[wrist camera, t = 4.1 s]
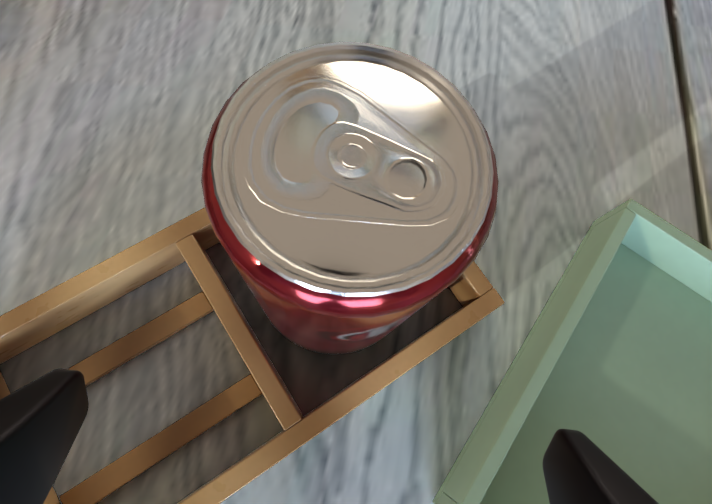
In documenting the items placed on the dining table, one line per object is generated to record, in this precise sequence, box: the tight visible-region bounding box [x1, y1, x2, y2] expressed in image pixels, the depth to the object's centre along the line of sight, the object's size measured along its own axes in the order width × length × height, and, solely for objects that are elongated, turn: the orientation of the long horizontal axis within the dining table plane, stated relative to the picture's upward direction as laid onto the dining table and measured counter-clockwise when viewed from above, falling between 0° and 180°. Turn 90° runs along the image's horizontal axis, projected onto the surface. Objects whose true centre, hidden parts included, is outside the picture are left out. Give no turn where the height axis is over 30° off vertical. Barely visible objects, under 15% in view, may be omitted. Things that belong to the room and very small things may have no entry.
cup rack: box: [0, 208, 505, 504], centre depth 20 cm, size 20×11×2 cm, turn 123°
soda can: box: [201, 42, 498, 354], centre depth 16 cm, size 7×7×12 cm
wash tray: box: [433, 199, 712, 504], centre depth 20 cm, size 16×14×3 cm
